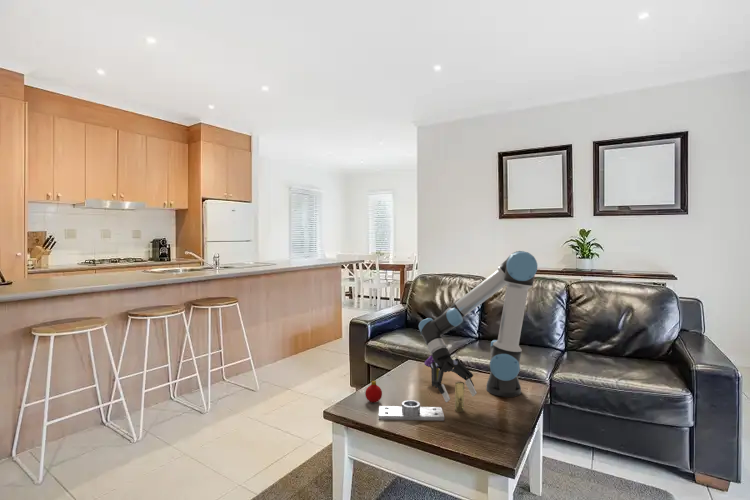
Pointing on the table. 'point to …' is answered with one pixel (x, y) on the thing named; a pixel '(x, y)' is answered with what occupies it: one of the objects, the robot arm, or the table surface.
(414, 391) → the table surface
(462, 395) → the hinge pin
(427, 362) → the decorative mushroom
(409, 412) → the hinge leaves
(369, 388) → the christmas ornament
